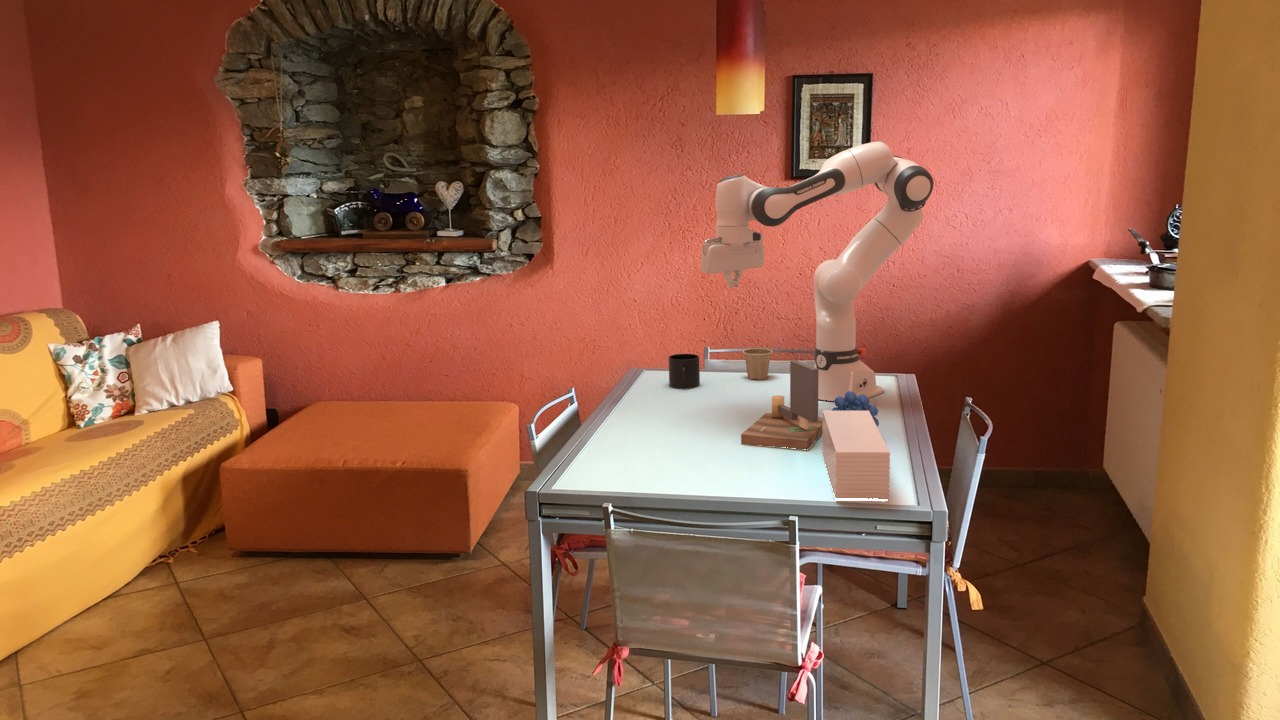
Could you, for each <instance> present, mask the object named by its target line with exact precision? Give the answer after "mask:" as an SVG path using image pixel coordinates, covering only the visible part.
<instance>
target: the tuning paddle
mask: <svg viewBox="0 0 1280 720" xmlns="http://www.w3.org/2000/svg"><path fill="white" fill-rule="evenodd" d="M789 362H790V363H789V372H790V374H789V381H790V382H789V383H790V384H789V385H790V386H789V388H790V389H789V397H790V398H789V406H787V405H785V396H783V395H772V396H771V413H772V416H773V417H784V416H785V417H787V418H789V419H791V420H797V419H798V416H799V426H800V427H802V428H804V429H808V420H809V421H811V422H818V417H819V399H818V377H819V369H817V368H815V367H814V366H812V365H809V364H806V363H803V362H801V361H799V360H790V361H789Z"/></svg>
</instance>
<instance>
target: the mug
mask: <svg viewBox="0 0 1280 720" xmlns="http://www.w3.org/2000/svg"><path fill="white" fill-rule="evenodd" d="M700 376H701V375H700V356H699V355H698V354H693V353H676V354H671V355H670V356H668V383H669V386H670V387H671V388H675V389H681V388H682V389H685V388H687V389H694V388H697V387H699V386H700V384H701V383H700V382H701V381H700V380H701V377H700ZM685 390H686V389H685Z"/></svg>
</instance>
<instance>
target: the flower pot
mask: <svg viewBox="0 0 1280 720" xmlns="http://www.w3.org/2000/svg"><path fill="white" fill-rule="evenodd" d="M742 353H743V357H744V359H745V365H746V367H745V368H746V374H747V379H749V380H758V381H760V380H761V381H762V380H766V379H767V378H768V377H769V376H768V375H769V368H770V361H771V357H772V354H773V350H772V349H769V348H761V347H760V348H758V347H757V348H746V349H744V350H742Z"/></svg>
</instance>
